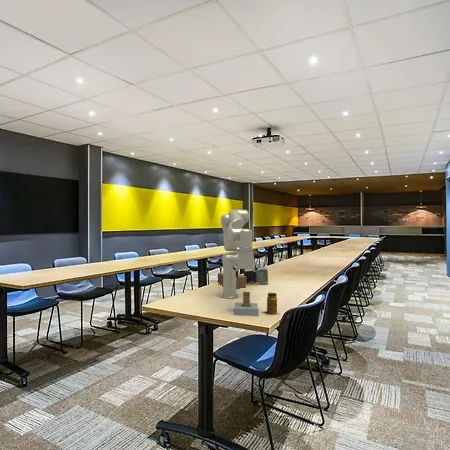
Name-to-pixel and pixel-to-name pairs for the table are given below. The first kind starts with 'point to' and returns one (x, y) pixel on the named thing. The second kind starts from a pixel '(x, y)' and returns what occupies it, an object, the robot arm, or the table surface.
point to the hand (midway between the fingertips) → (245, 278)
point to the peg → (246, 299)
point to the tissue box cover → (239, 281)
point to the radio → (256, 276)
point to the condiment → (271, 304)
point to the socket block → (246, 309)
